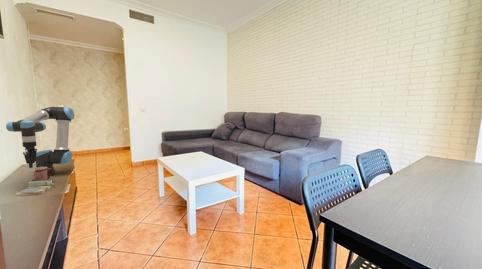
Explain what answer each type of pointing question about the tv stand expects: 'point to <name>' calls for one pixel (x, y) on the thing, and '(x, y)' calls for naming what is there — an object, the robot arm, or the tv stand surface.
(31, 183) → the leg
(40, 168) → the mug
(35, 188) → the seat pad
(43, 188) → the board
